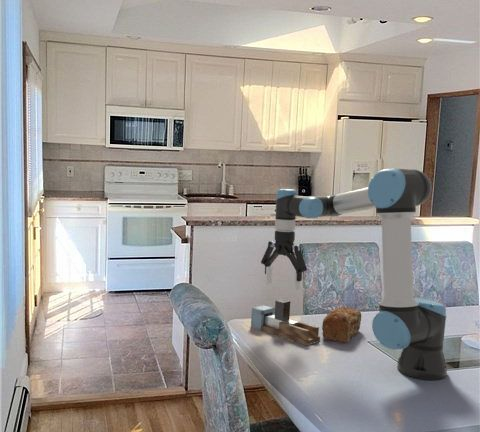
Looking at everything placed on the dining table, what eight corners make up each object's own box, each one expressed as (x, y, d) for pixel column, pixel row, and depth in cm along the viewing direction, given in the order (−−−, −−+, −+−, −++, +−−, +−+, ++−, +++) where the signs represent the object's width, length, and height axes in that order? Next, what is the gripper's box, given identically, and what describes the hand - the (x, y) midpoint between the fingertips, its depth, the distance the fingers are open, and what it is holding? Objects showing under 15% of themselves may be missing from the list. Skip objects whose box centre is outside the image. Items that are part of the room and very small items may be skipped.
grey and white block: (298, 331, 210) (299, 303, 209) (291, 333, 207) (293, 305, 206) (265, 321, 221) (267, 294, 220) (259, 323, 218) (260, 296, 217)
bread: (347, 344, 203) (349, 318, 202) (319, 339, 208) (321, 312, 207) (361, 331, 220) (363, 306, 219) (335, 326, 225) (336, 302, 223)
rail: (320, 340, 206) (320, 327, 205) (306, 345, 200) (307, 331, 199) (264, 323, 224) (265, 310, 223) (250, 326, 218) (251, 314, 218)
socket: (274, 326, 221) (275, 307, 220) (260, 330, 215) (261, 310, 214) (264, 323, 224) (265, 304, 223) (250, 326, 218) (251, 308, 217)
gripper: (318, 233, 204) (315, 290, 206) (266, 226, 221) (263, 279, 223) (305, 235, 198) (302, 293, 200) (253, 227, 215) (251, 281, 217)
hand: (282, 286), depth 211 cm, fingers open, 13 cm apart
